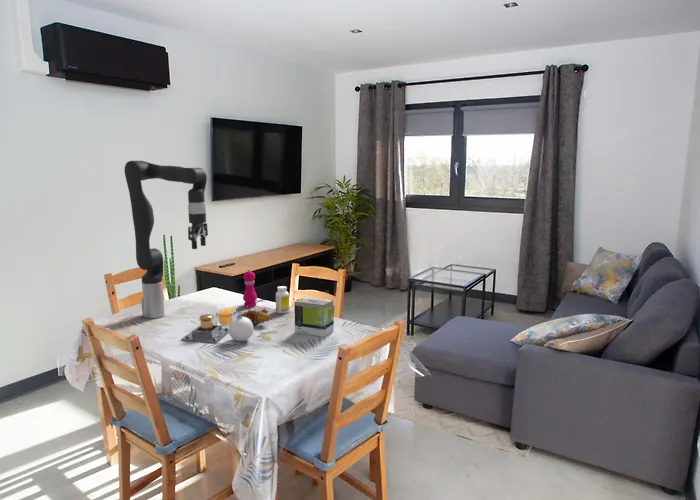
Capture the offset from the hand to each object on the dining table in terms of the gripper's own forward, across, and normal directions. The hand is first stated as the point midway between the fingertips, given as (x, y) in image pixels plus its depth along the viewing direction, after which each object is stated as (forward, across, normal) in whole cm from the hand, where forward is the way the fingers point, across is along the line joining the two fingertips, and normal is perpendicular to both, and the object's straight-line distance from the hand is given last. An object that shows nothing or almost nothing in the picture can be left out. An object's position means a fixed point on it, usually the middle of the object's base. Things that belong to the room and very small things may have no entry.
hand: (198, 247), depth 228 cm
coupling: (+36, +16, +10) cm, 41 cm away
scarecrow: (+36, -4, +25) cm, 44 cm away
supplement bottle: (+36, -23, +32) cm, 54 cm away
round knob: (+35, +16, +10) cm, 40 cm away
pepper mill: (+36, -30, +12) cm, 49 cm away
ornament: (+36, +19, +27) cm, 49 cm away
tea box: (+36, +3, +55) cm, 66 cm away
